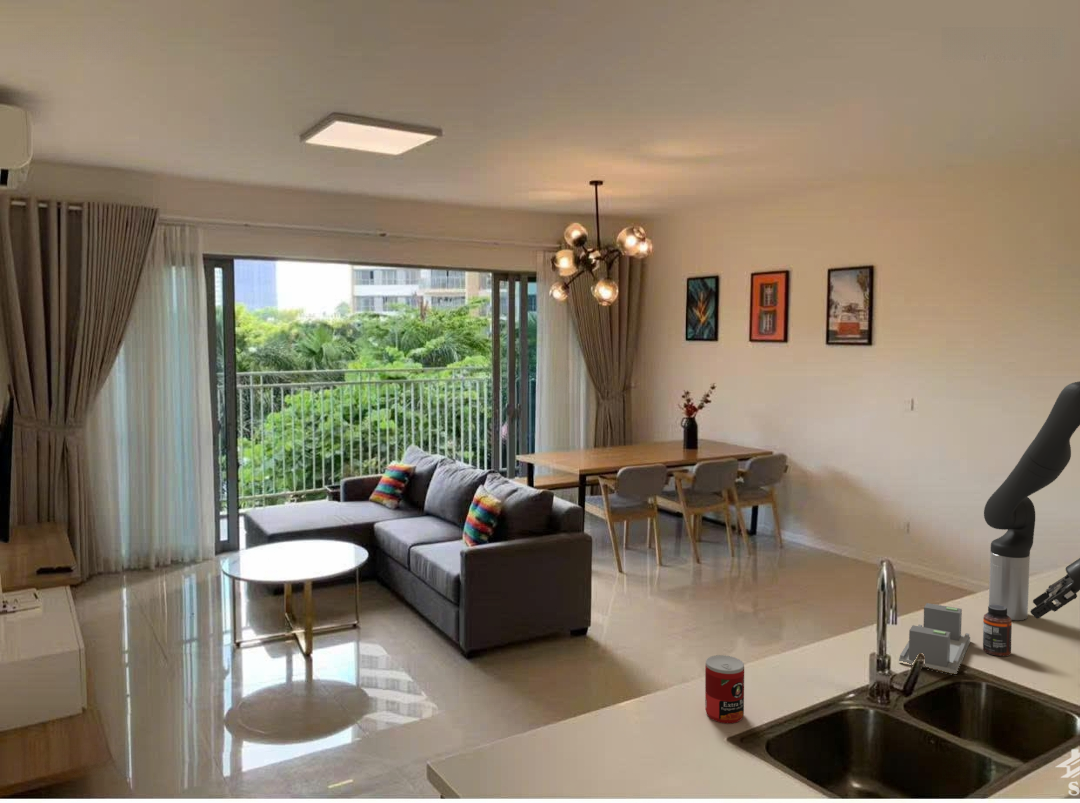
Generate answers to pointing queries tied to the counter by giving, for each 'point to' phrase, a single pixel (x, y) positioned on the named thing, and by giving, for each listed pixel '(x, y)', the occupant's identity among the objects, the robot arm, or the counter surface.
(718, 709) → the canned food
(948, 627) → the board
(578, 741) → the counter surface
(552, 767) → the counter surface
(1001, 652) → the supplement bottle
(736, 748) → the counter surface
